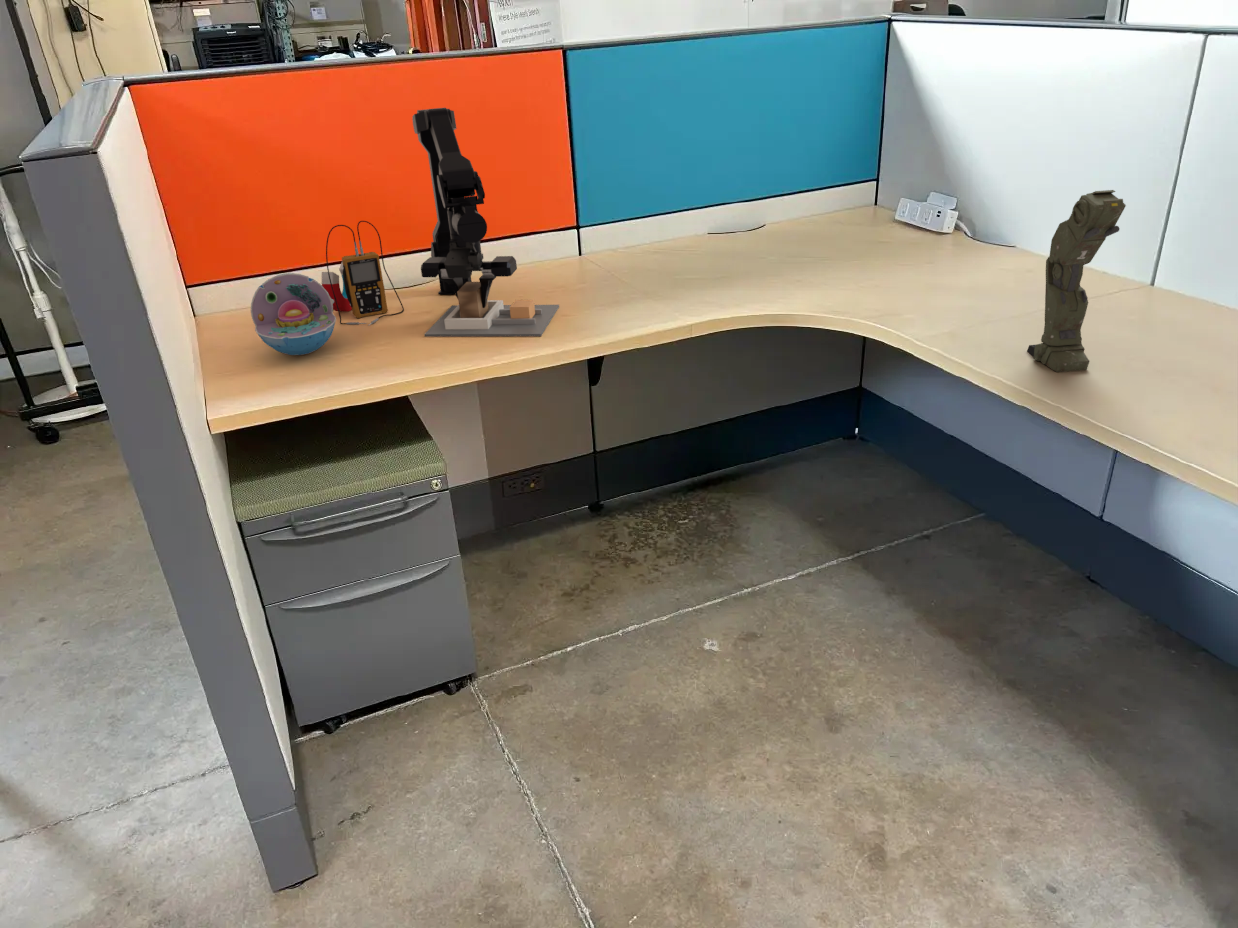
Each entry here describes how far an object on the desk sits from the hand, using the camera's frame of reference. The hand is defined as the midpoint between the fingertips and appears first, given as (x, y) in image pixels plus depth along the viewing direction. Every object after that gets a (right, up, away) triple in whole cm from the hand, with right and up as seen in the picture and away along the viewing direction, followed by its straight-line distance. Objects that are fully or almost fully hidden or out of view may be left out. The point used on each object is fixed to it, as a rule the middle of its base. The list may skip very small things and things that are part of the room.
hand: (474, 307), depth 186 cm
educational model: (-32, -11, -10) cm, 35 cm away
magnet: (-30, +1, +13) cm, 33 cm away
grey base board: (+4, -3, +1) cm, 5 cm away
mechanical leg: (+105, -15, -34) cm, 111 cm away
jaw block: (0, -1, +1) cm, 2 cm away
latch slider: (+10, -3, 0) cm, 11 cm away
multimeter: (-22, -2, +6) cm, 23 cm away
